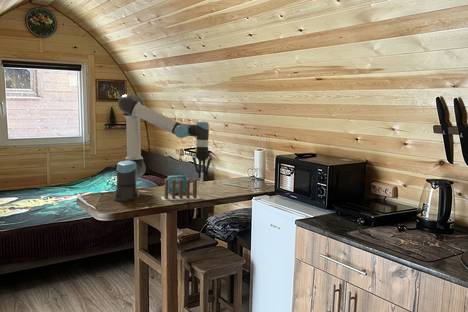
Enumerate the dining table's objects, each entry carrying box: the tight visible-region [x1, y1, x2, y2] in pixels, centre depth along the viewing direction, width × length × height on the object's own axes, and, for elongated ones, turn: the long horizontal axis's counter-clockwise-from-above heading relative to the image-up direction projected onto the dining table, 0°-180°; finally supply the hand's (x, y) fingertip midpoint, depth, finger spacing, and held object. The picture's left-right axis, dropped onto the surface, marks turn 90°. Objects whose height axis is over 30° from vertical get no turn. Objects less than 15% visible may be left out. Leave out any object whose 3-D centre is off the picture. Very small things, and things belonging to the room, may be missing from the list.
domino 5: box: [192, 177, 198, 198], centre depth 270 cm, size 2×5×12 cm, turn 16°
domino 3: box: [178, 178, 184, 199], centre depth 267 cm, size 2×5×12 cm, turn 16°
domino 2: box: [171, 178, 176, 199], centre depth 266 cm, size 2×5×12 cm, turn 16°
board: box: [160, 195, 201, 201], centre depth 268 cm, size 24×10×1 cm, turn 106°
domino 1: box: [164, 178, 169, 199], centre depth 265 cm, size 2×5×12 cm, turn 16°
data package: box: [166, 174, 187, 194], centre depth 284 cm, size 12×4×12 cm, turn 119°
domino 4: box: [185, 177, 191, 198], centre depth 268 cm, size 2×5×12 cm, turn 16°
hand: (201, 183), depth 271 cm, fingers closed
